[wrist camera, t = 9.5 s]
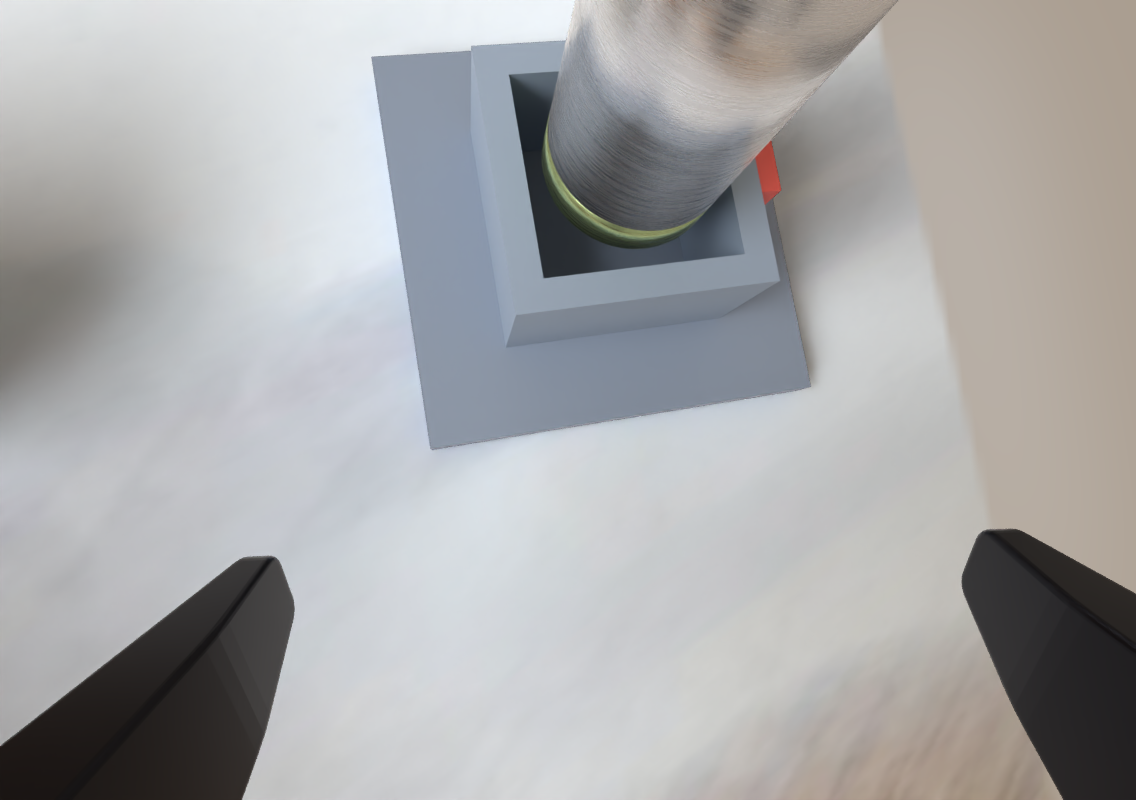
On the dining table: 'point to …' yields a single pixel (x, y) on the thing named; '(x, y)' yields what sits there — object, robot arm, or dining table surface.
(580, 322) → the jack base
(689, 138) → the cylinder
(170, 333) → the dining table surface
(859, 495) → the dining table surface
